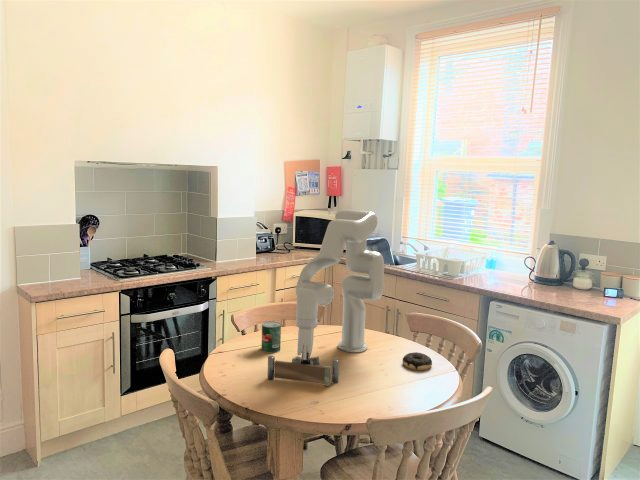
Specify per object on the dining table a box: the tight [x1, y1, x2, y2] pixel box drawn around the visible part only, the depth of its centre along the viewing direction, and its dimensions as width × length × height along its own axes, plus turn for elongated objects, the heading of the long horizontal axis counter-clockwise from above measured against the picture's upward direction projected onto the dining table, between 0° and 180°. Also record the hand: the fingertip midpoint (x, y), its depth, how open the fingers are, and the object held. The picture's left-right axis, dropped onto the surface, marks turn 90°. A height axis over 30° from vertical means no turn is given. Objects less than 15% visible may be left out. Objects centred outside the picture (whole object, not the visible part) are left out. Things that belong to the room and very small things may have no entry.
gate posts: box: [267, 355, 340, 384], centre depth 182 cm, size 2×25×8 cm, turn 88°
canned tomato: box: [261, 320, 282, 354], centre depth 211 cm, size 8×8×11 cm
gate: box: [274, 359, 332, 387], centre depth 180 cm, size 2×20×7 cm, turn 76°
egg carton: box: [291, 355, 321, 366], centre depth 194 cm, size 11×8×4 cm
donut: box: [402, 352, 433, 371], centre depth 201 cm, size 11×12×4 cm
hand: (305, 370), depth 183 cm, fingers closed
